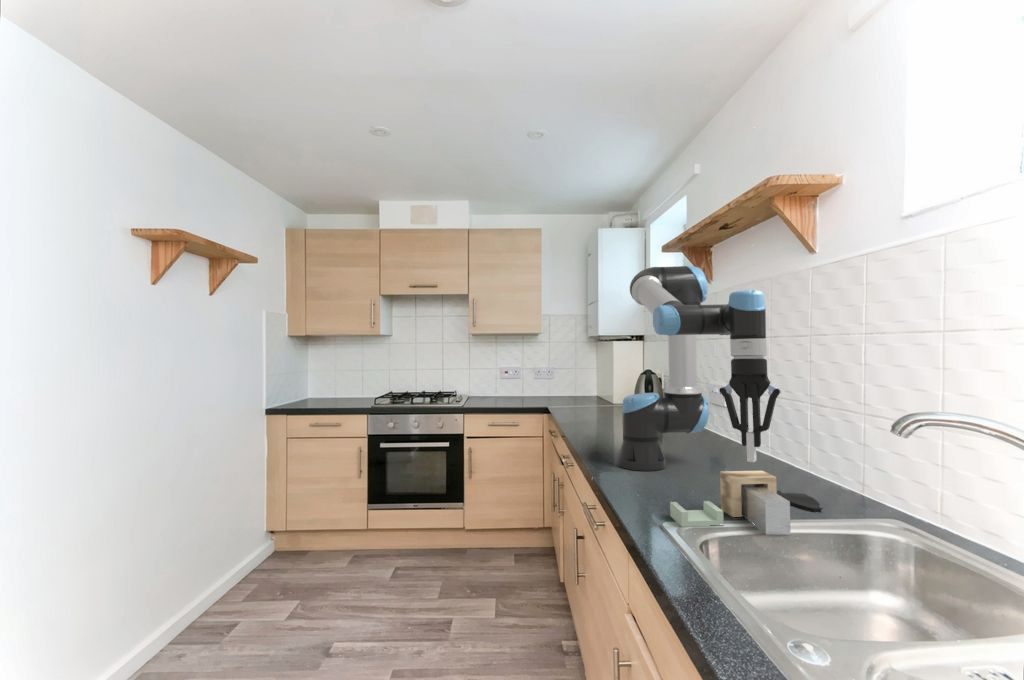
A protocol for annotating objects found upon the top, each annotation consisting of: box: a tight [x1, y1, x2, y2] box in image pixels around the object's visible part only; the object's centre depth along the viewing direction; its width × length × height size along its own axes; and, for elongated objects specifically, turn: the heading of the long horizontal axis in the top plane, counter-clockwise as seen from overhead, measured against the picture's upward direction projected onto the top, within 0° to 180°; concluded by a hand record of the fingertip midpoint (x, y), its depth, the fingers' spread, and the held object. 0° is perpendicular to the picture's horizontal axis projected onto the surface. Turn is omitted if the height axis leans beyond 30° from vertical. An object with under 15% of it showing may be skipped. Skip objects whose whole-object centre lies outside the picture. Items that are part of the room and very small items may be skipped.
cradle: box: [669, 500, 724, 528], centre depth 111 cm, size 7×9×3 cm
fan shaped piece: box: [777, 490, 823, 513], centre depth 122 cm, size 8×14×2 cm, turn 172°
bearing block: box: [719, 470, 778, 518], centre depth 116 cm, size 6×10×9 cm, turn 92°
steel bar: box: [741, 484, 792, 536], centre depth 111 cm, size 17×5×7 cm, turn 178°
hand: (751, 460), depth 114 cm, fingers closed
